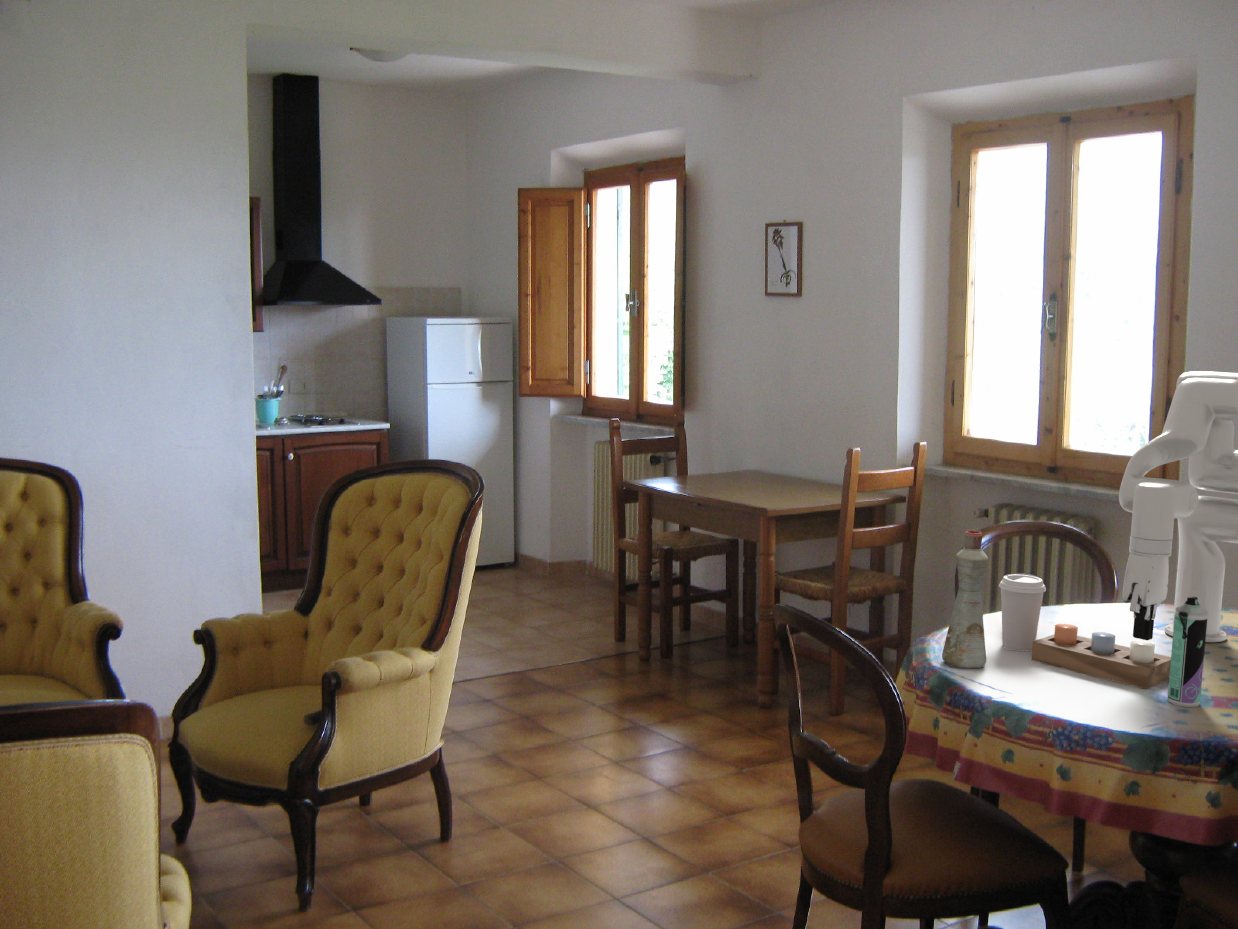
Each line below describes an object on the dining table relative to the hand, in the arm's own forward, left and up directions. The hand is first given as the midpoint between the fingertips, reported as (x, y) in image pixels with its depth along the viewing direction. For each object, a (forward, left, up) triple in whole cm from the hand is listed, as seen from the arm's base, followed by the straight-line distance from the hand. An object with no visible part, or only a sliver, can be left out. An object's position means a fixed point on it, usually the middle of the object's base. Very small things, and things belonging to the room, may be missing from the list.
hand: (1142, 638), depth 238 cm
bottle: (+20, -27, -9) cm, 34 cm away
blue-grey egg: (0, -8, -6) cm, 10 cm away
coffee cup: (-1, -27, -9) cm, 28 cm away
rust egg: (0, -16, -6) cm, 17 cm away
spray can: (+8, +12, -9) cm, 16 cm away
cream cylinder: (0, 0, -6) cm, 6 cm away
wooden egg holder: (0, -8, -8) cm, 12 cm away
